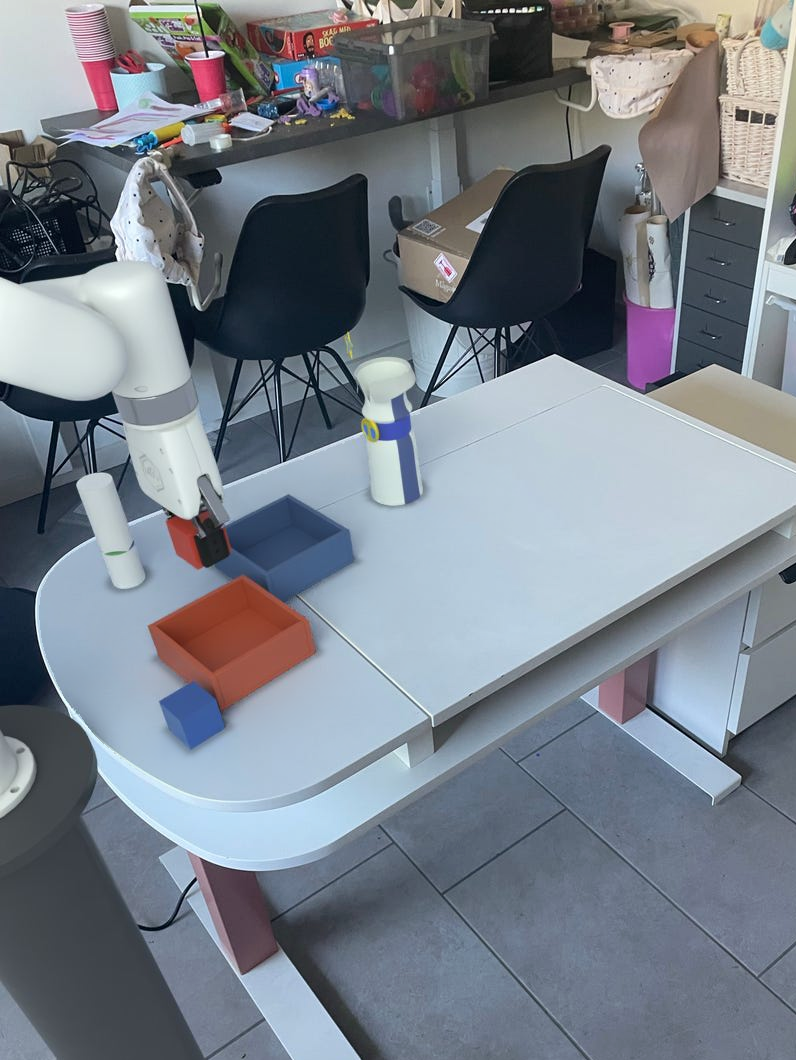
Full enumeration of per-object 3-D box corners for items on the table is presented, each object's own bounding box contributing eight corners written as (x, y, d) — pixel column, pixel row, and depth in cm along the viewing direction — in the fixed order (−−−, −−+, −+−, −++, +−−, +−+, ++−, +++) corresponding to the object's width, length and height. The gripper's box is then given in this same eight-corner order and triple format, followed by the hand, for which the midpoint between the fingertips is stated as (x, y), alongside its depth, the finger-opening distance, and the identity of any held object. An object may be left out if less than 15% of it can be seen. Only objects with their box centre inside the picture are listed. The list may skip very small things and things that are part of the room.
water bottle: (394, 514, 134) (373, 346, 118) (357, 493, 139) (332, 329, 123) (437, 491, 138) (422, 326, 122) (400, 471, 143) (381, 310, 127)
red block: (197, 570, 100) (187, 536, 97) (176, 554, 103) (165, 520, 100) (232, 551, 103) (222, 518, 100) (210, 536, 105) (200, 503, 102)
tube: (106, 581, 125) (69, 484, 115) (132, 565, 127) (98, 469, 118) (126, 592, 123) (90, 494, 113) (152, 576, 125) (119, 478, 116)
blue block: (190, 749, 101) (180, 721, 98) (169, 729, 103) (158, 701, 100) (225, 727, 103) (216, 699, 100) (203, 708, 106) (193, 680, 103)
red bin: (221, 711, 105) (210, 678, 102) (159, 658, 113) (147, 625, 109) (316, 652, 112) (309, 619, 109) (251, 606, 119) (243, 573, 116)
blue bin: (273, 608, 119) (265, 575, 116) (214, 566, 126) (205, 535, 123) (354, 561, 126) (349, 529, 123) (294, 524, 133) (288, 493, 130)
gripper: (79, 387, 93) (133, 538, 105) (169, 441, 84) (217, 600, 96) (146, 361, 97) (191, 510, 109) (238, 410, 88) (277, 566, 100)
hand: (203, 550), depth 102 cm, fingers closed on red block, 4 cm apart
